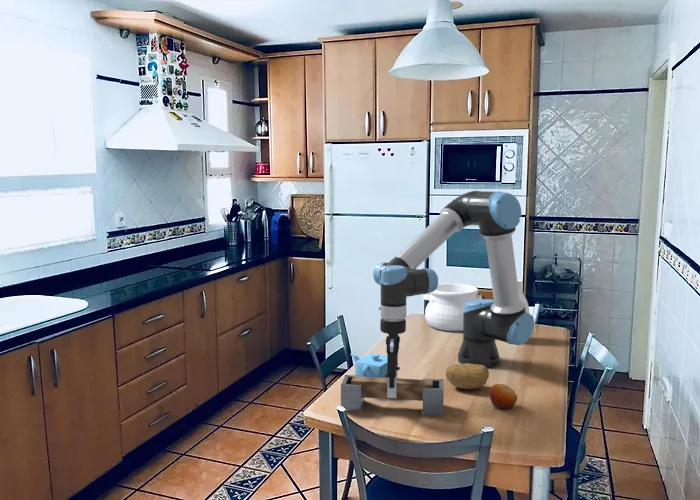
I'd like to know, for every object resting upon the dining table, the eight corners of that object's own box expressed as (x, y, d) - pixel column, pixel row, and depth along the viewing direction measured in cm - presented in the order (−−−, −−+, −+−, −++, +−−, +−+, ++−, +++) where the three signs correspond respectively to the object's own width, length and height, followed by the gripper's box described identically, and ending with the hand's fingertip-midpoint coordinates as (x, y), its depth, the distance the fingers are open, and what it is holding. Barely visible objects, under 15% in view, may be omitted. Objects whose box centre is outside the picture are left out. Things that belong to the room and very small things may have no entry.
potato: (444, 381, 201) (445, 358, 199) (487, 384, 198) (488, 361, 197) (444, 392, 191) (445, 368, 190) (489, 395, 189) (490, 371, 188)
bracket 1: (340, 411, 177) (340, 385, 175) (345, 399, 185) (345, 374, 184) (361, 412, 176) (361, 386, 175) (364, 400, 185) (364, 375, 184)
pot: (422, 331, 261) (422, 292, 258) (424, 317, 285) (424, 281, 282) (482, 334, 256) (484, 294, 254) (480, 320, 280) (481, 283, 278)
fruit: (480, 397, 183) (493, 376, 182) (501, 409, 184) (514, 388, 183) (488, 408, 175) (502, 385, 174) (510, 420, 176) (524, 398, 175)
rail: (432, 396, 179) (432, 380, 178) (432, 401, 175) (432, 384, 174) (353, 391, 182) (353, 376, 181) (351, 396, 178) (351, 380, 177)
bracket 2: (442, 404, 181) (443, 379, 180) (443, 416, 173) (443, 390, 172) (422, 403, 182) (423, 378, 181) (422, 415, 173) (422, 389, 172)
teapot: (386, 401, 184) (387, 366, 183) (338, 389, 194) (337, 356, 192) (409, 385, 198) (409, 352, 196) (363, 375, 207) (363, 343, 205)
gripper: (382, 311, 184) (382, 383, 187) (377, 325, 167) (377, 404, 170) (407, 311, 183) (406, 384, 186) (404, 326, 166) (403, 406, 170)
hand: (392, 394), depth 178 cm, fingers closed on rail, 4 cm apart
